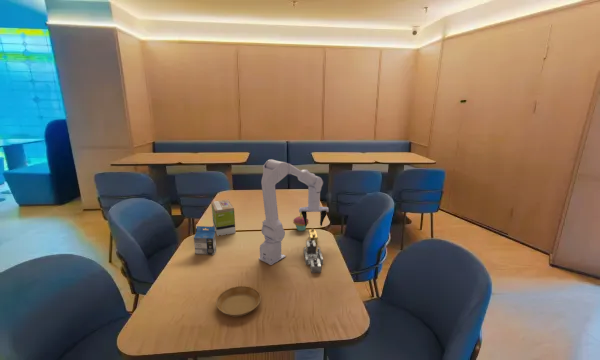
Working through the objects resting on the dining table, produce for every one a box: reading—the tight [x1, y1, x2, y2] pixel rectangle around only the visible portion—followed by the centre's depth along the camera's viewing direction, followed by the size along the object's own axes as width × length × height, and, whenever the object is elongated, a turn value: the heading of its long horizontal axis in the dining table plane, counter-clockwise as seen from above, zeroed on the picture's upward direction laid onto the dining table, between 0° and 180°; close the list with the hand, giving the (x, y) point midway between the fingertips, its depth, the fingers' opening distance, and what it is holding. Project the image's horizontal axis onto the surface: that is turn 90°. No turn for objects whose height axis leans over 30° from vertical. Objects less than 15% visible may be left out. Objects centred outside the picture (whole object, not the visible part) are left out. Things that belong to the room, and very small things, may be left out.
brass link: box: [308, 228, 319, 246], centre depth 142 cm, size 9×4×5 cm, turn 3°
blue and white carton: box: [193, 225, 217, 256], centre depth 128 cm, size 9×4×12 cm, turn 88°
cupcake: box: [292, 213, 310, 232], centre depth 155 cm, size 9×8×12 cm
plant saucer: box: [215, 285, 262, 318], centre depth 95 cm, size 15×15×3 cm
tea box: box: [210, 199, 236, 237], centre depth 153 cm, size 15×10×15 cm, turn 25°
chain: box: [303, 240, 324, 274], centre depth 125 cm, size 23×8×4 cm, turn 4°
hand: (313, 225), depth 141 cm, fingers open, 7 cm apart
